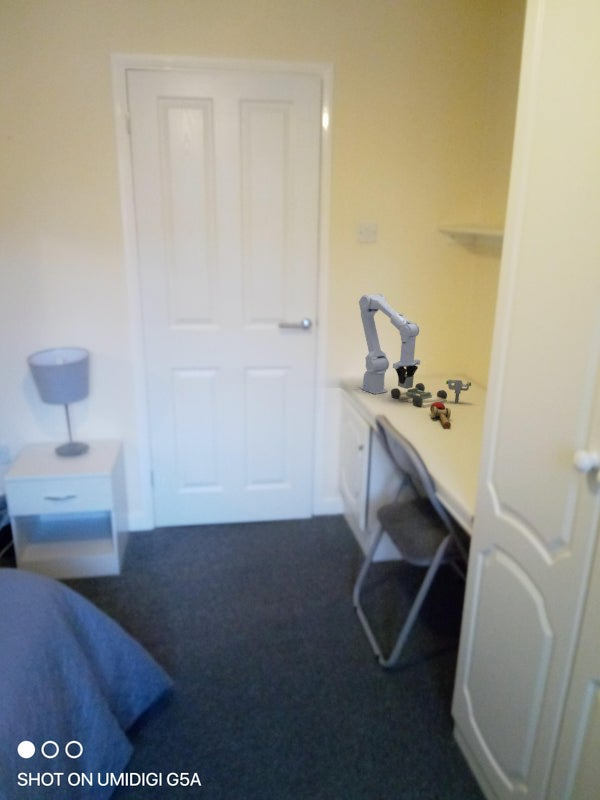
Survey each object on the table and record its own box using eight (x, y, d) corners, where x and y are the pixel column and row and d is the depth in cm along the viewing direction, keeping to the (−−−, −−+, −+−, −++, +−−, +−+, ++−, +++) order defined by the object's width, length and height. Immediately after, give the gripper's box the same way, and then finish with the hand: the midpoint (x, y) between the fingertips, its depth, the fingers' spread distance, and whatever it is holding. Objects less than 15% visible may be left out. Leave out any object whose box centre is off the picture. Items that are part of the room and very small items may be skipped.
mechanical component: (468, 405, 256) (471, 382, 253) (444, 403, 258) (446, 380, 255) (468, 403, 259) (470, 381, 256) (444, 401, 261) (446, 379, 258)
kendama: (458, 431, 229) (446, 410, 245) (457, 417, 226) (445, 397, 242) (438, 434, 229) (427, 413, 245) (437, 420, 226) (426, 399, 242)
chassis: (388, 396, 265) (389, 386, 264) (415, 390, 275) (415, 381, 274) (421, 408, 250) (422, 398, 249) (448, 401, 260) (449, 392, 259)
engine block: (397, 385, 258) (398, 374, 257) (404, 384, 260) (405, 373, 259) (406, 388, 254) (407, 377, 253) (412, 387, 256) (413, 376, 255)
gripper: (402, 355, 246) (399, 387, 250) (426, 351, 254) (423, 382, 258) (390, 352, 251) (388, 383, 255) (414, 348, 259) (411, 378, 263)
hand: (405, 382), depth 257 cm, fingers closed on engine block, 4 cm apart
